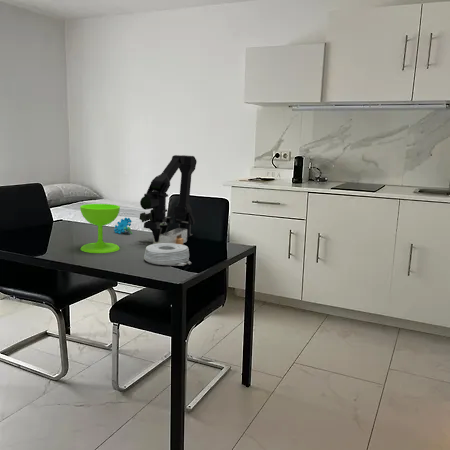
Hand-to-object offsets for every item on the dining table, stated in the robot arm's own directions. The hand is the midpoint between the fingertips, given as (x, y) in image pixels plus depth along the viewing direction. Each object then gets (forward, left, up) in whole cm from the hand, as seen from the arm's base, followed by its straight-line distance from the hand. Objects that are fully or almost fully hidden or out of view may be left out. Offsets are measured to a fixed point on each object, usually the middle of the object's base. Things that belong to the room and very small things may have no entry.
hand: (158, 241), depth 206 cm
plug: (0, +5, -1) cm, 5 cm away
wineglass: (+21, -17, -1) cm, 27 cm away
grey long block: (0, +8, -1) cm, 8 cm away
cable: (+27, +16, -2) cm, 31 cm away
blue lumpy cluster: (-13, -25, -1) cm, 28 cm away
